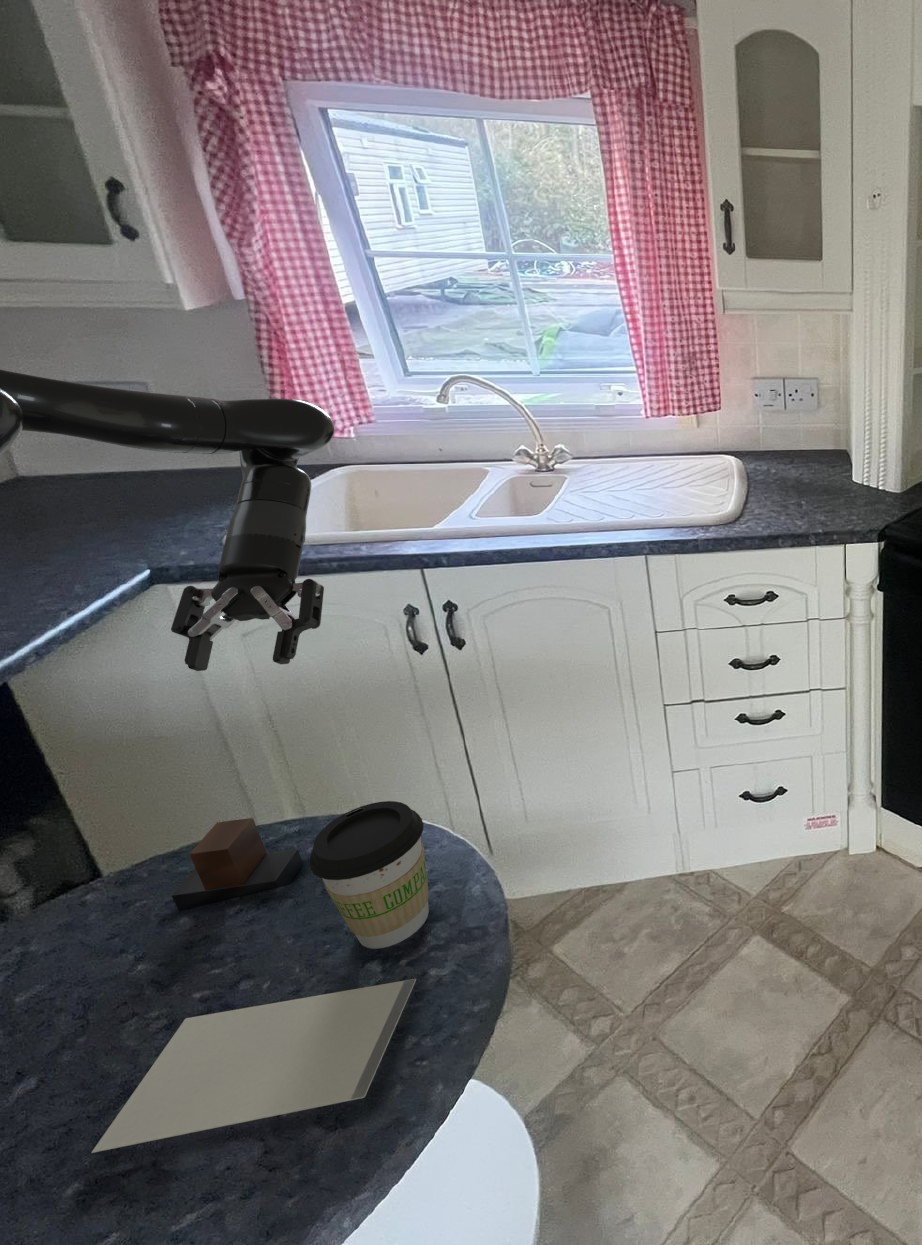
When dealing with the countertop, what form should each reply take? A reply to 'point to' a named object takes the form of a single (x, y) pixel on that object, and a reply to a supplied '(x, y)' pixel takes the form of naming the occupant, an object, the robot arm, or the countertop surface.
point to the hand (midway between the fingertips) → (239, 666)
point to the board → (262, 1063)
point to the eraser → (234, 866)
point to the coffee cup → (375, 871)
